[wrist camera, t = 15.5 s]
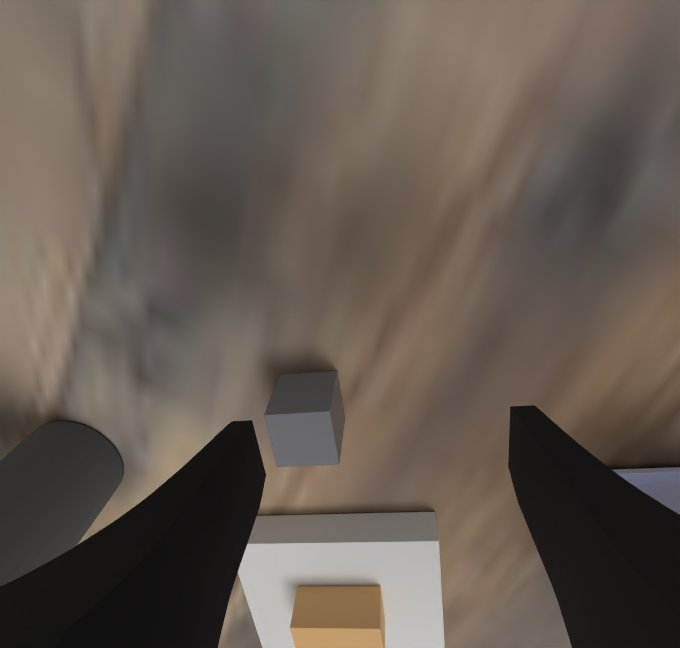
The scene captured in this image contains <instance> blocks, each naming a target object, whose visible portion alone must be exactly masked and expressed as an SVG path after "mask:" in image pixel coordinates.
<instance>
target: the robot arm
mask: <svg viewBox="0 0 680 648" xmlns="http://www.w3.org/2000/svg"><path fill="white" fill-rule="evenodd" d="M508 467H509V470H510V474H511V478H512V482H513V486H514V489H515V493H516V496H517V500H518V503H519V505H520V508H521V510H522V513H523V515H524V518H525V520H526V523H527V525H528V528H529V530H530V533H531V535H532V537H533V540H534V542H535V545H536V547H537V550H538V552H539V554H540V557H541V559H542V562H543V564H544V567H545V569H546V572H547V574H548V576H549V579H550V581H551V584H552V586H553V589H554V592H555V595H556V597H557V600H558V603H559V606H560V609H561V613H562V616H563V619H564V623H565V626H566V629H567V632H568V636H569V639H570V642H571V645H572V648H680V467H673V468H644V469H614V470H611V469H610V468H609V467H607V466H606V465H605V464H603V463H602V462H601V461H599V460H598V459H597V458H596V457H594V456H593V455H592V454H591V453H589V452H588V451H587V450H586V449H584V448H583V447H582V446H581V445H579V444H578V443H577V442H576V441H575V440H574V439H572V438H571V437H570V436H569V435H568V434H567V433H565V432H564V431H563V430H562V429H561V428H560V427H558V426H557V425H556V424H555V423H554V422H553V421H552V420H551V419H549V418H548V417H547V416H546V415H545V414H544V413H543V412H541V411H540V410H539V409H538V408H537V407H536V406H534V405H533V406H514V407H510V435H509V463H508ZM265 477H266V473H265V469H264V466H263V462H262V458H261V454H260V450H259V446H258V442H257V438H256V434H255V430H254V426H253V422H252V420H250V421H232V422H231V423H230V424H228V425H227V426H226V427H225V428H224V429H223V430H222V431H221V432H220V433H219V434H217V435H216V436H215V437H214V438H213V439H212V440H211V441H210V442H209V443H208V444H207V445H206V446H205V447H204V448H203V449H202V450H201V451H200V452H198V453H197V454H196V455H195V456H194V457H193V458H192V459H191V460H190V461H189V462H188V463H187V464H186V465H184V466H183V467H182V468H181V469H180V470H179V471H178V472H176V473H175V474H174V475H173V476H172V477H171V478H169V479H168V480H167V481H166V482H165V483H164V484H162V485H161V486H160V487H159V488H158V489H157V490H155V491H154V492H153V493H152V494H151V495H149V496H148V497H147V498H146V499H144V500H143V501H142V502H140V503H139V504H138V505H136V506H135V507H134V508H132V509H131V510H130V511H128V512H127V513H125V514H124V515H123V516H121V517H120V518H118V519H117V520H116V521H114V522H113V523H111V524H110V525H108V526H107V527H105V528H103V529H102V530H100V531H99V532H97V533H96V534H94V535H92V536H91V537H89V538H88V539H86V540H85V541H83V542H82V543H80V544H78V545H77V546H75V547H74V548H72V549H70V550H68V551H67V552H65V553H63V554H61V555H60V556H58V557H56V558H55V559H53V560H51V561H49V562H47V563H45V564H44V565H42V566H40V567H38V568H36V569H34V570H32V571H31V572H29V573H27V574H25V575H23V576H21V577H19V578H17V579H15V580H13V581H11V582H9V583H7V584H4V585H2V586H0V648H218V643H219V639H220V635H221V631H222V626H223V622H224V618H225V614H226V609H227V605H228V601H229V598H230V595H231V591H232V588H233V584H234V581H235V579H236V576H237V573H238V570H239V567H240V564H241V561H242V558H243V555H244V552H245V549H246V546H247V543H248V541H249V538H250V535H251V532H252V529H253V526H254V523H255V520H256V517H257V514H258V510H259V507H260V502H261V498H262V493H263V488H264V482H265Z"/></svg>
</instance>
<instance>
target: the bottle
mask: <svg viewBox="0 0 680 648" xmlns="http://www.w3.org/2000/svg"><path fill="white" fill-rule="evenodd" d="M123 473H124V471H123V462H122V459H121V457H120V455H119V453H118V452H117V450H116V449H115V447H114V446H113V445H112V444H111V443H110V442H109V441H108V439H106V438H105V437H104V436H103V435H101V434H100V433H98V432H97V431H95V430H93V429H91V428H89V427H87V426H85V425H81V424H78V423H74V422H69V421H55V422H51V423H47V424H45V425H43V426H41V427H39V428H38V429H37V430H35V431H34V432H33V433H32V434H30V435H29V436H28V437H27V438H26V439H25V440H24V441H22V442H21V443H20V444H19V445H18V446H17V447H16V448H14V449H13V450H12V451H11V452H10V453H9V454H8V455H6V456H5V457H4V458H3V459H2V460H1V461H0V586H2V585H4V584H7V583H9V582H11V581H13V580H15V579H17V578H19V577H21V576H23V575H25V574H27V573H29V572H31V571H32V570H34V569H36V568H38V567H40V566H42V565H44V564H45V563H47V562H49V561H51V560H53V559H55V558H56V557H58V556H60V555H61V554H63V553H65V552H67V551H68V550H70V549H72V548H74V547H75V546H77V544H78V543H79V541H80V540H81V539H82V537H83V536H84V534H85V533H86V532H87V530H88V529H89V527H90V526H91V525H92V523H93V522H94V520H95V519H96V518H97V516H98V515H99V513H100V512H101V511H102V509H103V508H104V506H105V505H106V503H107V502H108V501H109V499H110V498H111V496H112V495H113V493H114V492H115V491H116V489H117V487H118V486H119V484H120V483H121V481H122V478H123Z"/></svg>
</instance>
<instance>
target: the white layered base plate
mask: <svg viewBox="0 0 680 648" xmlns="http://www.w3.org/2000/svg"><path fill="white" fill-rule="evenodd" d="M238 574H239V577H240V580H241V583H242V586H243V589H244V592H245V595H246V598H247V602H248V605H249V608H250V611H251V614H252V617H253V620H254V623H255V626H256V629H257V632H258V635H259V638H260V641H261V644H262V647H263V648H295V645H294V641H293V638H292V634H291V630H290V624H291V619H292V613H293V608H294V602H295V597H296V591H297V586H381V593H382V600H383V608H384V615H385V648H444V629H443V610H442V590H441V571H440V552H439V538H438V530H437V523H436V515H435V512H402V513H359V514H316V515H273V516H257V517H256V520H255V523H254V526H253V529H252V532H251V535H250V538H249V541H248V543H247V546H246V549H245V552H244V555H243V558H242V561H241V564H240V567H239V570H238Z"/></svg>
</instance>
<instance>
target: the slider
mask: <svg viewBox="0 0 680 648" xmlns="http://www.w3.org/2000/svg"><path fill="white" fill-rule="evenodd" d="M290 630H291V634H292V638H293V641H294V645H295V648H385V615H384V608H383V600H382V593H381V586H297V591H296V597H295V602H294V608H293V613H292V619H291V624H290Z"/></svg>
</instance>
